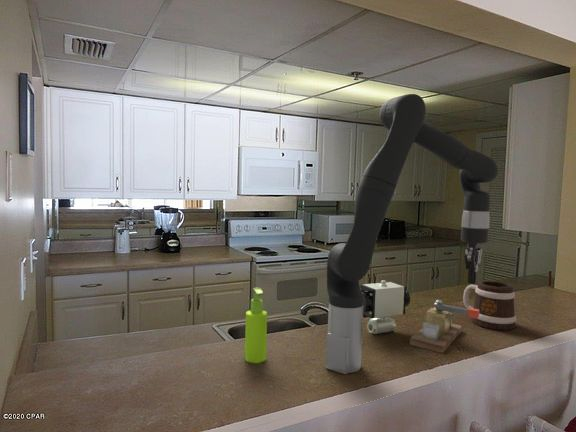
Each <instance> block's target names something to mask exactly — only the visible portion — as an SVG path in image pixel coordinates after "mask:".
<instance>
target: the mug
mask: <svg viewBox="0 0 576 432" xmlns="http://www.w3.org/2000/svg"><path fill="white" fill-rule="evenodd" d="M472 290H474V292H475V297H474V303H473V305H471V304H470V301H469V300H470V299H469V298H470V293H471V292H472ZM515 297H516V293H515V292H514V289H513V287H512V286H511V285H510V284H508V283H504V282H500V281H499V282H498V281H490V280H489V281H487V280H484V281H480V282H479V283H478V284H469V285H467V286H466V287H465V289H464V291H463V298H462V301H463V305H464V306H465V307H466V309H468V308H474V309H479V318H478V319H475V318H470V319H471V320H470V321H472V322H473V324H475V325H476V326H479V327H482V328H485V329H490V330H494V331H511V330H512V329H514V328H516V322H517V316H516V314H515V300H514V299H515Z"/></svg>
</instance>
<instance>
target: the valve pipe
mask: <svg viewBox="0 0 576 432" xmlns="http://www.w3.org/2000/svg"><path fill="white" fill-rule="evenodd" d="M425 315H426V317H425V322H423V323H422V328H423V332H422V338H425V339H429V340H433V341H438V338H439V337H440V336H445V335H446V334H447V333H448V332H449V327H451V324H453V323H452V322H453V321H452V320H453V312H447V311H442V312H439V311H435V310H434V307H430V308H429V309H427V311H426V314H425Z"/></svg>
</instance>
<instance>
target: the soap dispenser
mask: <svg viewBox="0 0 576 432" xmlns="http://www.w3.org/2000/svg"><path fill="white" fill-rule="evenodd" d="M252 291H253V298H252V299H250V310H247V311H246V312H245V335H244V337H245V338H244V344H245V345H244V360H245V361H246V362H247V363H250V364H251V363H252V364H260V363H263V362H265V361H266V359H267V337H268V336H267V334H268V333H267V328H268V311H266V310H264V300H263V299H262V298H261V295H264V292H263V291H264V290H263V289H262V288H261V287H252Z"/></svg>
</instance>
